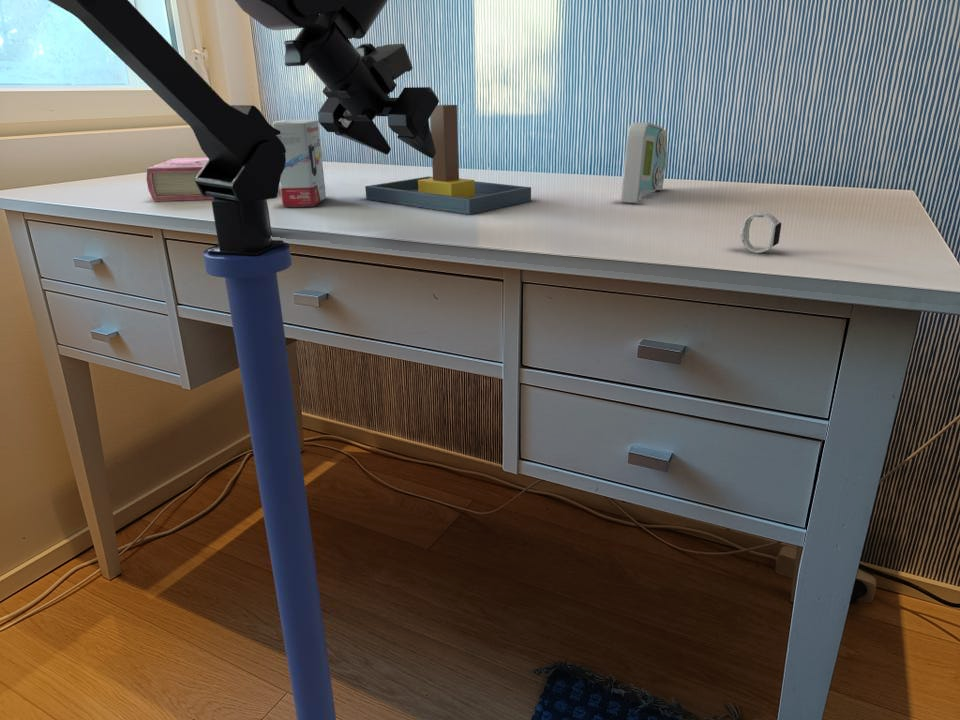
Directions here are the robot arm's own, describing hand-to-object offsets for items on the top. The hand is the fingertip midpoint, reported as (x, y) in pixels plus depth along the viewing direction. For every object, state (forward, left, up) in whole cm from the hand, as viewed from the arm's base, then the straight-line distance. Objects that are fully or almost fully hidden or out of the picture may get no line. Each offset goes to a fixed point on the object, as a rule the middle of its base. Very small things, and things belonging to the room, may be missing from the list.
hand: (410, 153), depth 96 cm
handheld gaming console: (+14, -32, -8) cm, 36 cm away
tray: (+6, -3, -7) cm, 10 cm away
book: (+8, +39, -8) cm, 40 cm away
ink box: (+1, +18, -8) cm, 19 cm away
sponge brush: (+6, -3, -7) cm, 10 cm away
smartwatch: (-21, -44, -8) cm, 50 cm away
